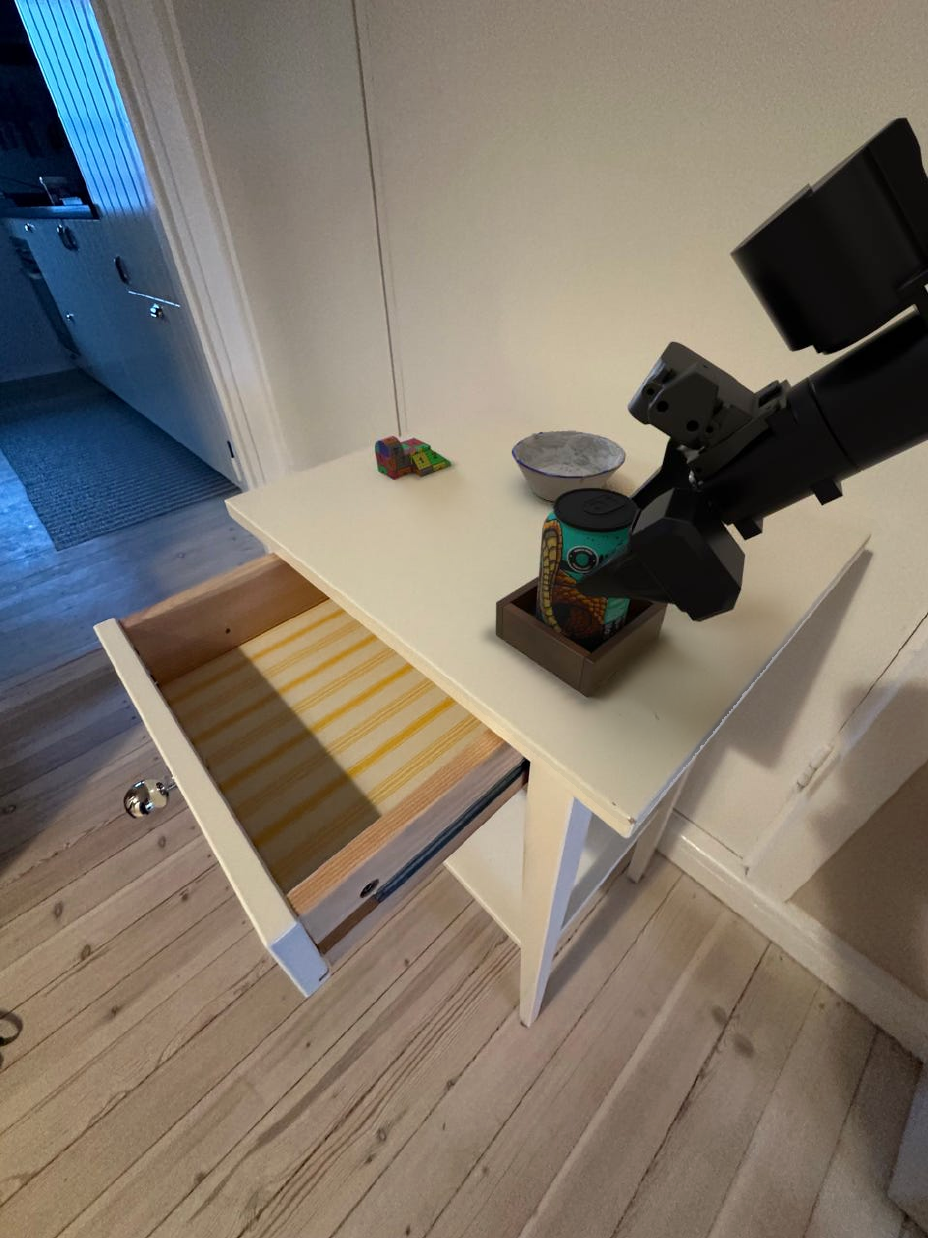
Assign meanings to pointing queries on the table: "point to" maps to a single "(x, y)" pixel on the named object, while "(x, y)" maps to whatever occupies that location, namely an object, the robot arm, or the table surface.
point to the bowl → (566, 461)
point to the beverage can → (582, 563)
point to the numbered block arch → (407, 457)
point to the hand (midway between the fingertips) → (596, 554)
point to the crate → (565, 654)
